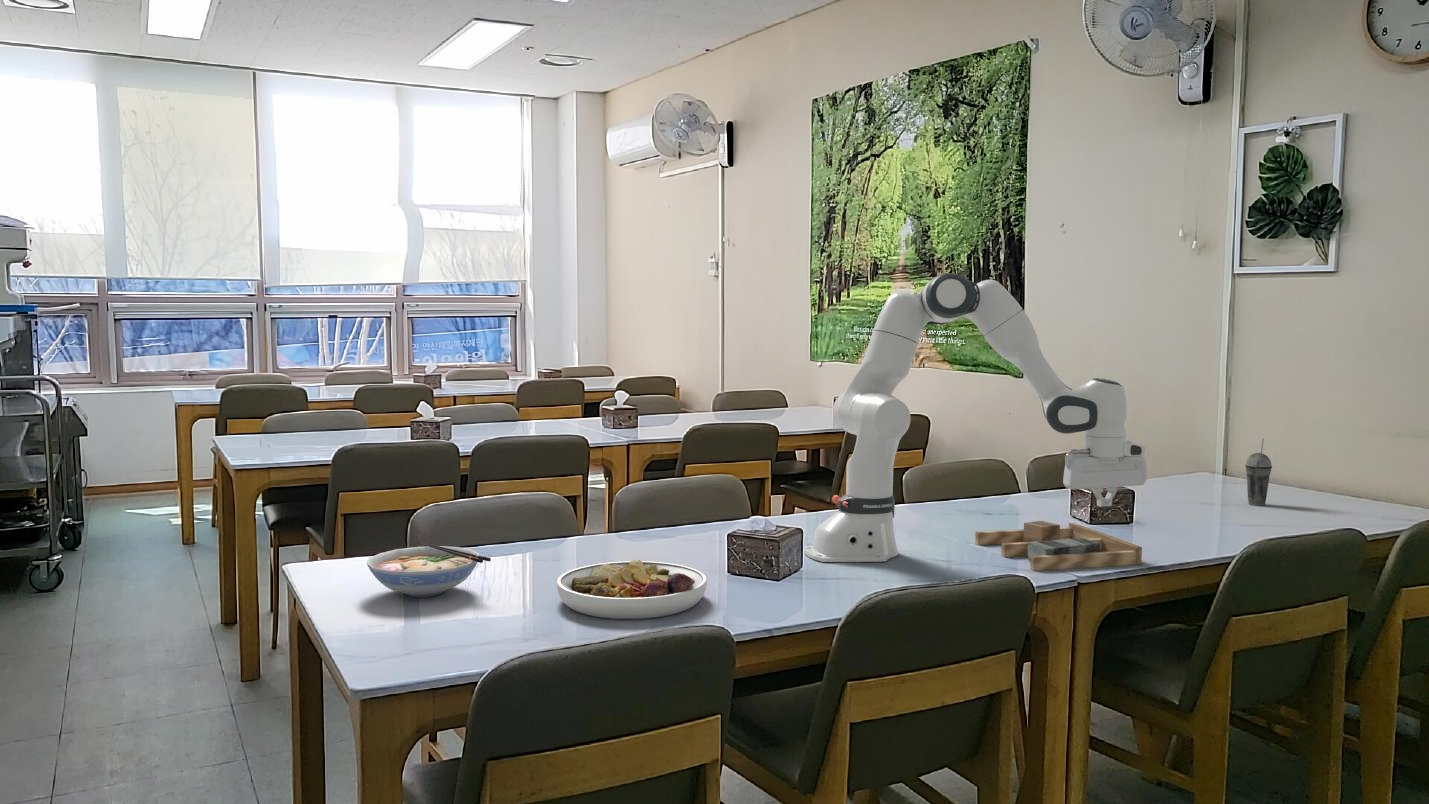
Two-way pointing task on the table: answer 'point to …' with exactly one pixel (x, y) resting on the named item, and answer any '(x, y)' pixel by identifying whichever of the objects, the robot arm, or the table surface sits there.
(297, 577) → the table surface
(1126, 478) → the robot arm
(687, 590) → the bowl
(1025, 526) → the walnut block
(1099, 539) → the divided wooden tray
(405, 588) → the ramen bowl
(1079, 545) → the stone block
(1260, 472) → the beverage cup
